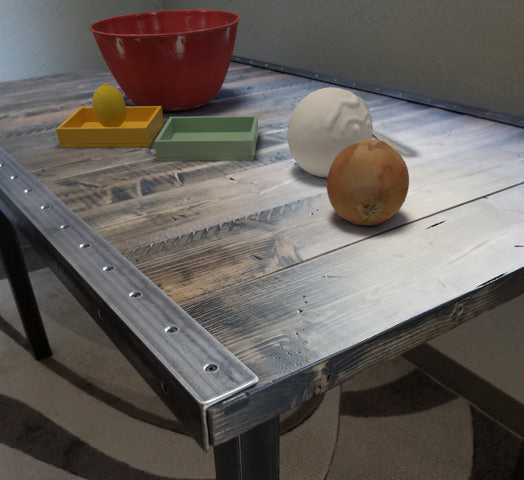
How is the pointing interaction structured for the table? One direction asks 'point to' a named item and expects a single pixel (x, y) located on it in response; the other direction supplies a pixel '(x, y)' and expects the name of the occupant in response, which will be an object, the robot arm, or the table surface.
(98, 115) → the lemon
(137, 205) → the table surface
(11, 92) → the table surface
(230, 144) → the green tray
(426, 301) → the table surface
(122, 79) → the mixing bowl
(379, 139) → the fork
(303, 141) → the decorative ball
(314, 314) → the table surface
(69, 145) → the yellow tray
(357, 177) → the onion
